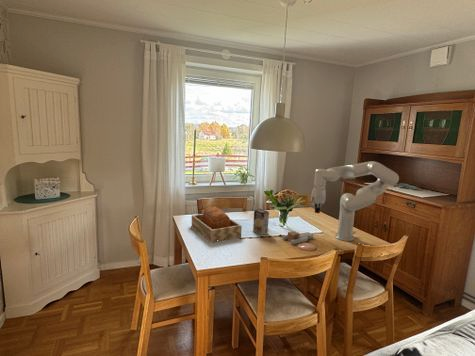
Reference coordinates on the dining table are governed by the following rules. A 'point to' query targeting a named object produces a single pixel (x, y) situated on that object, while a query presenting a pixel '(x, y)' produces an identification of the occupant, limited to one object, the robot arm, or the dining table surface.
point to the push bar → (306, 235)
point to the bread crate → (216, 233)
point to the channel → (296, 239)
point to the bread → (215, 218)
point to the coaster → (306, 246)
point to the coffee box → (260, 221)
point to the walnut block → (293, 235)
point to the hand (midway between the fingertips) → (317, 212)
